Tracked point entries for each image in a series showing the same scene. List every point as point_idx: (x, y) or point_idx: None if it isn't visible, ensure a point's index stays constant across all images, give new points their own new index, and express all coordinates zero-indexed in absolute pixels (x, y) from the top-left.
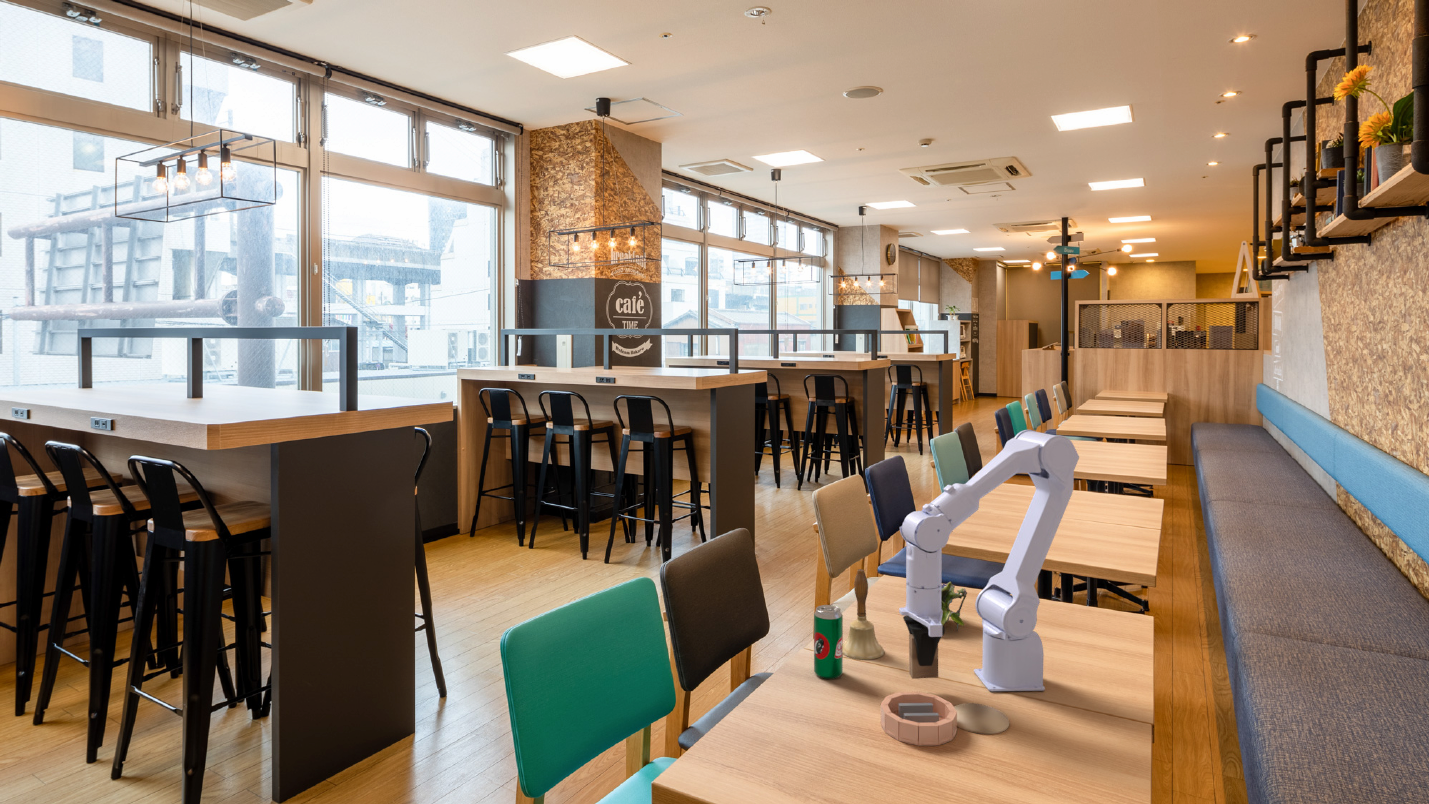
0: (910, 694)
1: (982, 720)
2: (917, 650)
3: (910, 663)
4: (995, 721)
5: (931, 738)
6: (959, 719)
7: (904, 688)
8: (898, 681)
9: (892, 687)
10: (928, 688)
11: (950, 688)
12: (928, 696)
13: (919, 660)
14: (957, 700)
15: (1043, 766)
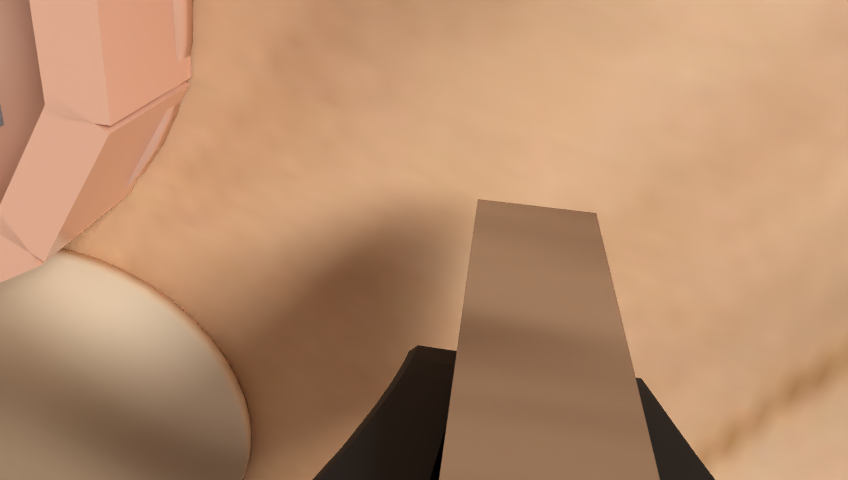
0: (34, 18)
1: (19, 419)
2: (327, 464)
3: (556, 275)
4: (16, 474)
5: None
6: (11, 300)
7: (601, 114)
8: (761, 113)
9: (651, 4)
10: None
11: None
12: (10, 184)
13: (392, 382)
14: (333, 407)
15: None
